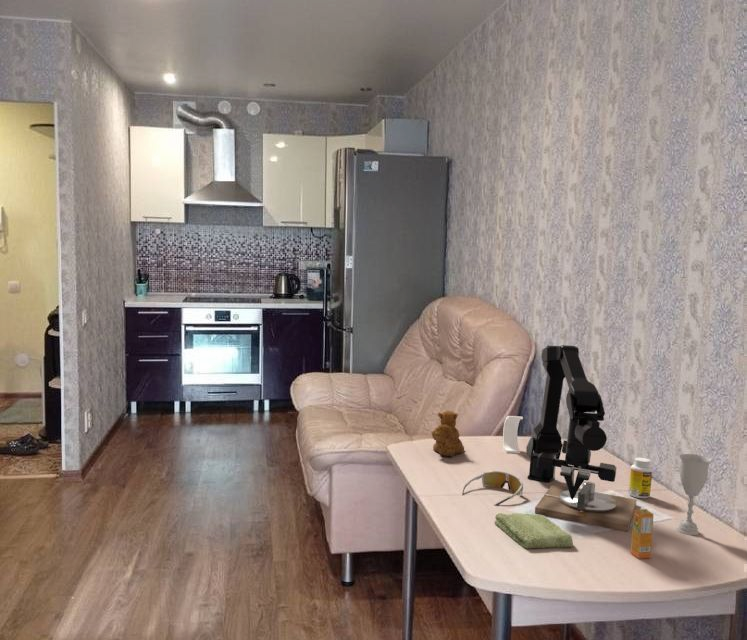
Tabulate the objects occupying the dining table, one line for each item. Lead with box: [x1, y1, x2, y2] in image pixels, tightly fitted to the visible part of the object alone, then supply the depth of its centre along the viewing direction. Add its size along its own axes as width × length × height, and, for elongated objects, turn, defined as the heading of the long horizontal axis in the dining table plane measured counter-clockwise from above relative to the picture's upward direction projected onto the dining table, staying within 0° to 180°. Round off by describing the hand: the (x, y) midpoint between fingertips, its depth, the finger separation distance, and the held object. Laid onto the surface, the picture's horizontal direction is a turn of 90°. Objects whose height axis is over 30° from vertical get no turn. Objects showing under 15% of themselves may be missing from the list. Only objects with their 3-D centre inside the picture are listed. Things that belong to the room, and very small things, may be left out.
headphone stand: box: [502, 415, 524, 454], centre depth 245 cm, size 5×6×12 cm
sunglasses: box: [461, 470, 524, 506], centre depth 199 cm, size 14×15×5 cm
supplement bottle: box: [628, 457, 653, 500], centre depth 205 cm, size 6×6×10 cm
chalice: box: [676, 453, 712, 536], centre depth 179 cm, size 7×7×18 cm
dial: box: [559, 481, 616, 512], centre depth 190 cm, size 17×14×5 cm
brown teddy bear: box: [430, 410, 465, 457], centre depth 237 cm, size 10×14×13 cm
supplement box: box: [630, 508, 654, 560], centre depth 162 cm, size 3×3×10 cm
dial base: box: [534, 483, 637, 532], centre depth 192 cm, size 22×22×2 cm
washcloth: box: [494, 512, 574, 550], centre depth 172 cm, size 13×18×3 cm
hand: (572, 500), depth 186 cm, fingers closed
